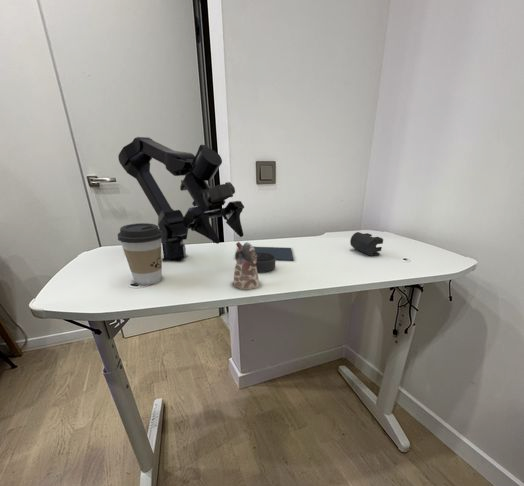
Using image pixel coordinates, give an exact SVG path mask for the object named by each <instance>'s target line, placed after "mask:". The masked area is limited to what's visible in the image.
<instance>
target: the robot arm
mask: <svg viewBox="0 0 524 486" xmlns="http://www.w3.org/2000/svg"><path fill="white" fill-rule="evenodd" d="M153 159H154V160H155V161H157V162H159V163H161V164H163V165H164V166H165V170H167V171H168V172H169V173H170V174H171V175H172V176H174V177H183V176H184V177H183V179H181V180H180V186H179V189H180V191H187V192H188V194H189V195H190V197H191V199H192V200H193V201H192V202H191V204H192V206H193V207H189V208H188V209H187V211H186V213H185V214H184V215H183V212H182V211H181V209H173V208H172V207H171V205H170V203H169V201H168V199H167V198H166V196H165V195H164V193H163V191H162V190H161V188H160V186H159V185H158V182H157V181H156V179H155V178H154V176H153V174H152V173H151V161H152V160H153ZM118 162H119V164H120V165H121V167H122V168H123V170H124V172H126V174H128V175H129V176H131V177H132V178H134V179H135V180H136V181H137V183H138V184H139V186H140V188H141V190H142V192H143V193H144V194H145V196H146V198H147V200H148V202H149V203H150V205H151V207H152V209H153V210H154V211H155V213H156V215H157V226H158V228H159V230H161V231H162V234H163V237H162V238H161V249H162V255H163V258H162V262H182V261H183V260H184V259H185V257H187V251H186V244H185V243H184V240H185V241H186V240H187V239H188V233H189V230H190V231H192V232H196V233H198V234H199V235H201V236H204V237H205V238H207V239H209V241H212V242H214V244H216V245H218V244H220V243H221V241H220V238H219V235H218V234H217V232H216V231H215V229H214V228H213V226H212V224H211V223H210V219H212V218H219V217H222V219H223V220H225V224H227V225H228V227H230V228H231V229H232V230H233V232H234V233H236V235H238V236H239V237H240V238H242V237H244V235H245V234H244V230H243V227H242V222H241V213H243V210H244V209H245V205H244V204H243V202H242V201H241V200H234V201H229V202H228V203H227V205H226V206H225V204H226V200H228V199H230V198H233V197H234V194H235V193H236V188H235V186H234V185H233V184H232V182H230V181H226V182H225V183H221V184H217V185H215V186H213V187H210V185H209V184H208V182H209V181H211V180H213V178H214V176H215V175H216V173H217V172H218V170H219V168H220V167H221V165H222V163H223V159H222V157H221V155H220V154H219V153H217V152H216V151H215V150H214V149H212V148H210V147H209V146H208V145H207V144H200V145H199V146H198V149H197V151H196V154H194V153H191V152H186V151H178V150H174V149H171V148H169V147H167V146H166V145H163V144H162V143H159V142H157V141H155V140H154V139H152V138H150V137H147V136H146V137H145V136H136V137H134V138H133V140H132V141H131V142H130V143H128V144H126V145H125V146H123V147H122V149H121V150H120V152H119V153H118ZM207 181H208V182H207ZM223 206H225V207H223Z"/></svg>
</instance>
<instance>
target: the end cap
mask: <svg viewBox="0 0 524 486" xmlns="http://www.w3.org/2000/svg"><path fill="white" fill-rule="evenodd" d="M383 243H384V238H383V237H380V236H373V234H371V233H368V232H366V233H365V232H364V233H362V232H359V231H356V232H354V233H352V236H351V237H350V242H349V244H350V246H351V247H352V249H354V250H356V251H358V252H360V253H363V254H365V255H367V256H369V257H374V256H376V257H377V256H380V252H381V251H382V249H383V247H382V246H377V245H383Z"/></svg>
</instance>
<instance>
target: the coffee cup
mask: <svg viewBox="0 0 524 486" xmlns="http://www.w3.org/2000/svg"><path fill="white" fill-rule="evenodd" d="M162 237H163V234H162V231H161V230H159V226H158V224H155V223H147V222H145V223H144V222H141V223H140V222H139V223H131V224H130V223H129V224H126V225H123V226H120V228H119V232H118V233H117V240H118V241H119V242H120V244H121V247H122V250H123V252H124V256H125V259H126V261H127V264H128V267H129V270H130V273H131V276H132V278H133V281H134V283H136V284H137V285H140V286H150V285H155V284H157V283H159V282H161V281H162V277H163V273H162V272H163V271H162V270H163V268H162V267H163V266H162V265H163V264H162V262H163V261H162V259H163V258H162V255H163V251H162V243H161V238H162Z"/></svg>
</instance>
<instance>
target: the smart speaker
mask: <svg viewBox="0 0 524 486" xmlns="http://www.w3.org/2000/svg"><path fill="white" fill-rule="evenodd" d="M256 254H257V255H258V257H257V261H256V266H257V273H267V272H271V271H273V270H274V269H275V268H276V262H277V260H276V259H275V257H274V256H273V255H271V254H268V253H256Z"/></svg>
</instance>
